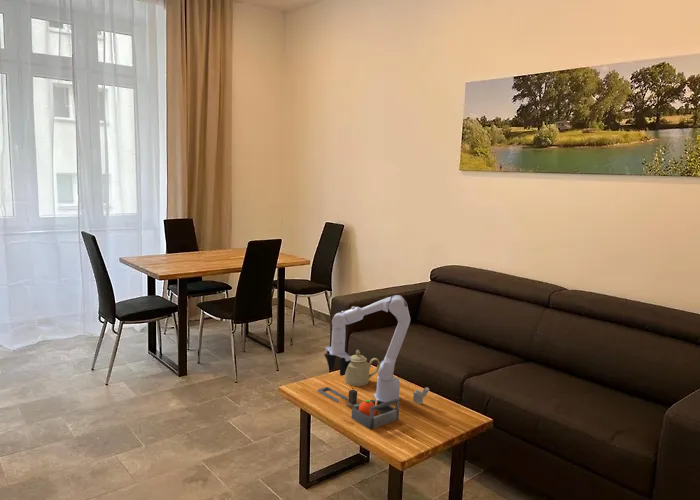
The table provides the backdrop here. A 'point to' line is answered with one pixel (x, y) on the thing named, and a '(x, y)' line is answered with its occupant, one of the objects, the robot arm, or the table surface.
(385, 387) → the robot arm
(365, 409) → the tomato
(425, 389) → the lighter
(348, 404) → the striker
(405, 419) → the table surface
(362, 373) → the beige teapot
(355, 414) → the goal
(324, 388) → the track
